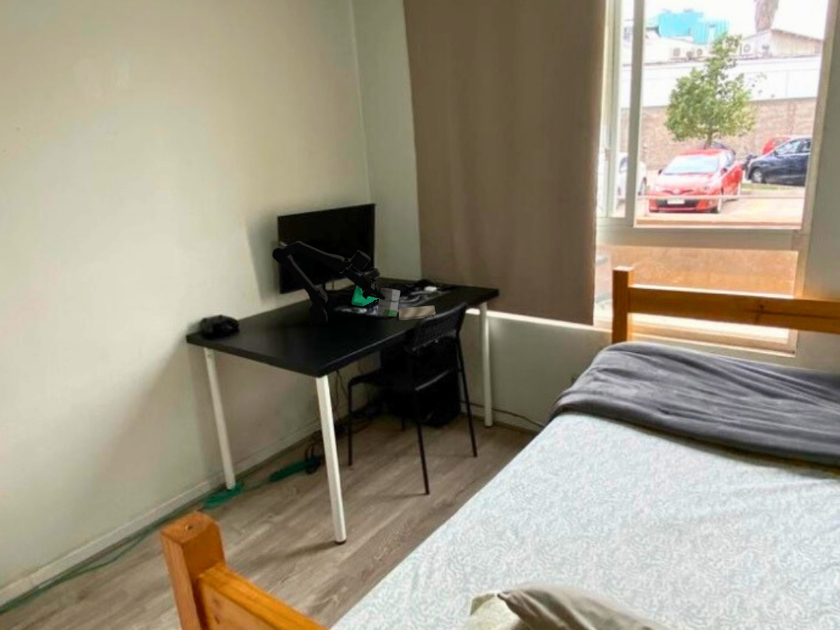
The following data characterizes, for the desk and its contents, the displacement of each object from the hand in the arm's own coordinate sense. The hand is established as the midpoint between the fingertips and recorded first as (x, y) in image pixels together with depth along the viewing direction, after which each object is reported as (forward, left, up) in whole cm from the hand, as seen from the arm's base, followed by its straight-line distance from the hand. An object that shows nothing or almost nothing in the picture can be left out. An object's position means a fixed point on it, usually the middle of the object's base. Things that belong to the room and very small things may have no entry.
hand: (384, 298), depth 248 cm
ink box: (0, 0, -8) cm, 8 cm away
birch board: (+14, 0, -8) cm, 16 cm away
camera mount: (-11, +25, -9) cm, 29 cm away
